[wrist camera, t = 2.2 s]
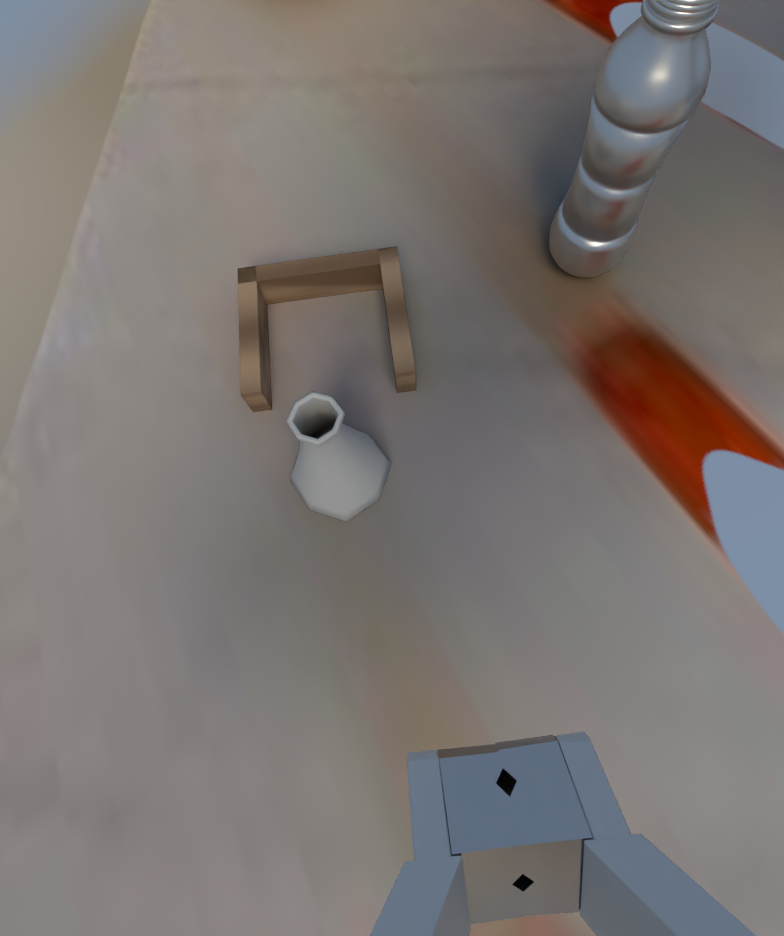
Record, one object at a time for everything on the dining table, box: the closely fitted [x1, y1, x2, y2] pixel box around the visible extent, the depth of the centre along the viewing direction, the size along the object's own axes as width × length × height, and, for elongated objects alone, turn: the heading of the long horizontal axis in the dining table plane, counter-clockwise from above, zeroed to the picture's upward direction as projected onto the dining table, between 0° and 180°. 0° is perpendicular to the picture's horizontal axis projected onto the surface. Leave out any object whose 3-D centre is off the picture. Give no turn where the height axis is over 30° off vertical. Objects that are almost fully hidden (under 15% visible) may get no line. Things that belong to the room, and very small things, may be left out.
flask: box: [286, 391, 391, 521], centre depth 35 cm, size 7×7×10 cm
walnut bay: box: [238, 247, 416, 412], centre depth 43 cm, size 12×13×3 cm
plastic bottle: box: [549, 0, 720, 278], centre depth 36 cm, size 6×7×20 cm
